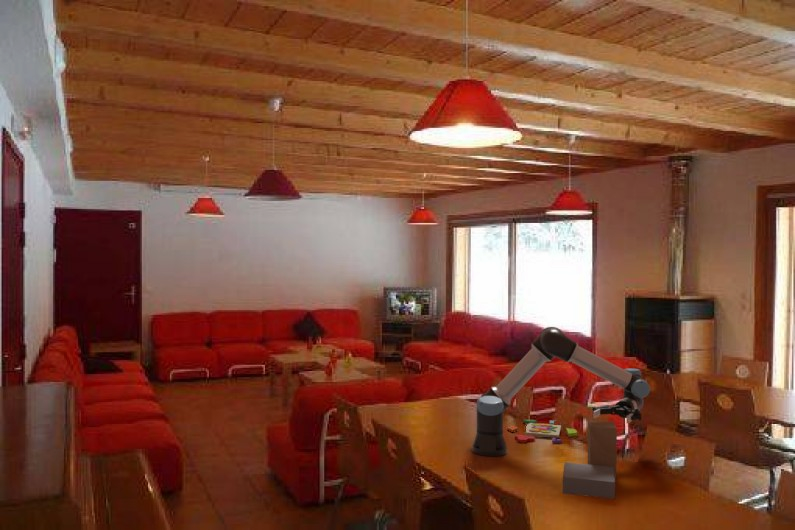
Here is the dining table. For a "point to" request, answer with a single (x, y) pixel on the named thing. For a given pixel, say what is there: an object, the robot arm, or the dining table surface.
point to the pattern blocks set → (541, 431)
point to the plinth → (588, 480)
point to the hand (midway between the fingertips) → (610, 417)
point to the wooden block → (602, 444)
